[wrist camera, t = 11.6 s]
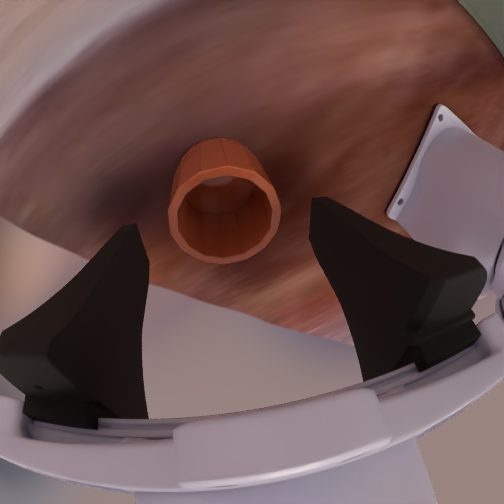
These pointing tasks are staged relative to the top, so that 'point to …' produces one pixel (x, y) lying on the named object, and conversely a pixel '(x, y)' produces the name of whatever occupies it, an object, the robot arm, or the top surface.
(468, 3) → the green rectangular box
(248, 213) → the small cup
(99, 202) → the top surface
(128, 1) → the top surface
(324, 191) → the top surface
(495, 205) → the robot arm
